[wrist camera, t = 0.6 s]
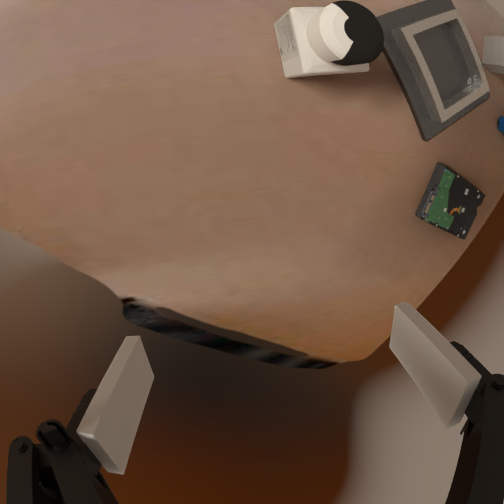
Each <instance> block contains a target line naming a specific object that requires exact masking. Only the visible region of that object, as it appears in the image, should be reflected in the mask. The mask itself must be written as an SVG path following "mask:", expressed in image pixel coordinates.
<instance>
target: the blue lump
mask: <svg viewBox="0 0 504 504" xmlns="http://www.w3.org/2000/svg"><path fill="white" fill-rule="evenodd" d="M498 130H500V131H501V132H503V133H504V117H502V116H501V117H500V120H499V125H498Z"/></svg>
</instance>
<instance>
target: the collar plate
mask: <svg viewBox="0 0 504 504" xmlns="http://www.w3.org/2000/svg"><path fill="white" fill-rule="evenodd" d="M376 18H377V20H378V21H379V23H380V25H381V27H382V30H383V34H384V45H383V49H382V51H383V53H384V55H385V56H386V58H387V60H388V62H389V64H390V66H391V68H392V70H393V72H394V74H395V76H396V78H397V80H398V82H399V84H400V86H401V88H402V91H403V93H404V95H405V97H406V99H407V102H408V104H409V106H410V109H411V111H412V114H413V116H414V119H415V121H416V124H417V126H418V129H419V131H420V134H421V137H422V140H425V141H427V140H429V139H430V138H432V137H433V136H435V135H436V134H437V133H439V132H440V131H442V130H443V129H445V128H446V127H447V126H449V125H450V124H452V123H453V122H455V121H456V120H457V119H459V118H460V117H462V116H463V115H465V114H466V113H467V112H469V111H470V110H472V109H473V108H475V107H476V106H477V105H479V104H480V103H482V102H483V101H484V100H486V99H487V98H489V97H490V95H489V92H488V91H490V88H489V85H488V82H487V79H486V76H485V73H484V70H483V67H482V64H481V61H480V58H479V56H478V53H477V51H476V48H475V46H474V43H473V41H472V38H471V36H470V34H469V31H468V29H467V27H466V25H465V23H464V21H463V18H462V16H461V14H460V12H459V10H458V9H455V7H454V5H453V3H452V1H451V0H427V1H423V2H420V3H416V4H413V5H410V6H407V7H404V8H401V9H398V10H395V11H392V12H389V13H387V14H384V15H381V16H379V17H376Z"/></svg>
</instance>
